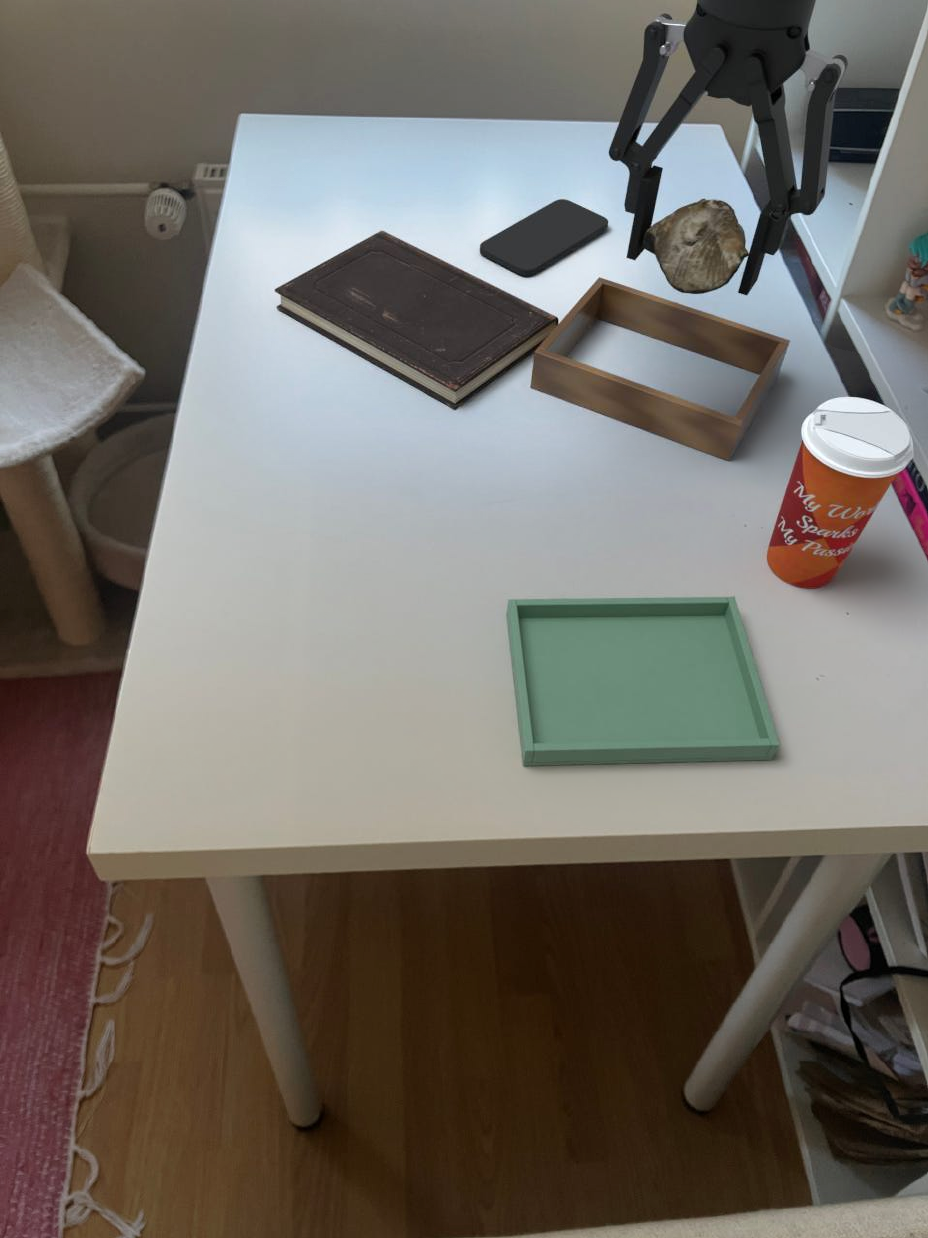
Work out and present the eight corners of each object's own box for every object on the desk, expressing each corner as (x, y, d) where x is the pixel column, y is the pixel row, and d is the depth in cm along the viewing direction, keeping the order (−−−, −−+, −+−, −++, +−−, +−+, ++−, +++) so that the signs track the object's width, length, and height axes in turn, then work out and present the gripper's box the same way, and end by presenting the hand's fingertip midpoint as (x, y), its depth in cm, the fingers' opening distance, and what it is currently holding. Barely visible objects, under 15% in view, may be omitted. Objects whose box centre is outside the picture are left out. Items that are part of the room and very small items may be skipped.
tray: (728, 612, 77) (734, 596, 76) (772, 760, 69) (780, 745, 67) (506, 615, 76) (508, 599, 74) (522, 766, 67) (525, 750, 66)
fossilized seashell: (766, 282, 76) (742, 235, 83) (738, 201, 72) (715, 160, 80) (672, 326, 78) (657, 277, 86) (639, 250, 74) (627, 206, 82)
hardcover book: (454, 409, 91) (455, 389, 89) (276, 309, 100) (274, 288, 98) (557, 334, 99) (560, 314, 98) (385, 247, 108) (385, 227, 106)
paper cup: (750, 587, 79) (805, 450, 68) (755, 520, 84) (808, 383, 73) (851, 608, 78) (923, 473, 67) (850, 540, 83) (918, 403, 72)
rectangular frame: (778, 375, 97) (790, 340, 94) (728, 461, 88) (740, 425, 85) (593, 312, 102) (599, 276, 99) (529, 387, 94) (534, 351, 91)
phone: (474, 245, 108) (561, 196, 115) (474, 252, 108) (560, 203, 116) (528, 272, 105) (613, 220, 112) (527, 279, 105) (612, 227, 113)
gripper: (590, -76, 64) (550, 250, 81) (928, -3, 58) (808, 333, 75) (634, -104, 69) (588, 211, 86) (953, -39, 63) (834, 286, 80)
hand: (691, 268), depth 81 cm, fingers closed on fossilized seashell, 9 cm apart
